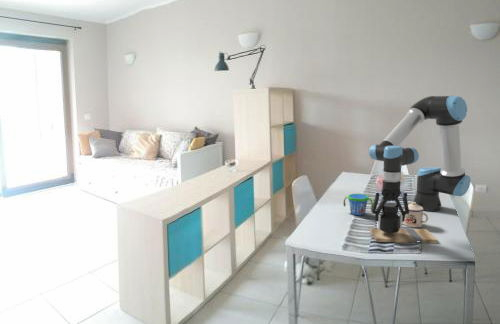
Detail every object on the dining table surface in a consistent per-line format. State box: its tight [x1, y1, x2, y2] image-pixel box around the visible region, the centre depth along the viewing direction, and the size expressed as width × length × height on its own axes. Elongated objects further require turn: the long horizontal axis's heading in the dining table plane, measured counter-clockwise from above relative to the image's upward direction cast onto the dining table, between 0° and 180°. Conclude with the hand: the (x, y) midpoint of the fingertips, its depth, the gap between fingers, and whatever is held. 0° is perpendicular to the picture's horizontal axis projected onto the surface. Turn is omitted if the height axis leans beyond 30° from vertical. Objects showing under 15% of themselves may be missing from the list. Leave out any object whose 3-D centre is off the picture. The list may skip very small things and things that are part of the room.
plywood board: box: [369, 227, 438, 244], centre depth 171 cm, size 26×13×2 cm, turn 84°
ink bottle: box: [379, 202, 400, 233], centre depth 170 cm, size 10×9×12 cm
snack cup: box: [343, 193, 374, 216], centre depth 203 cm, size 16×10×10 cm
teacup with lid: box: [402, 201, 429, 228], centre depth 184 cm, size 12×9×12 cm
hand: (389, 227), depth 171 cm, fingers closed on ink bottle, 9 cm apart
